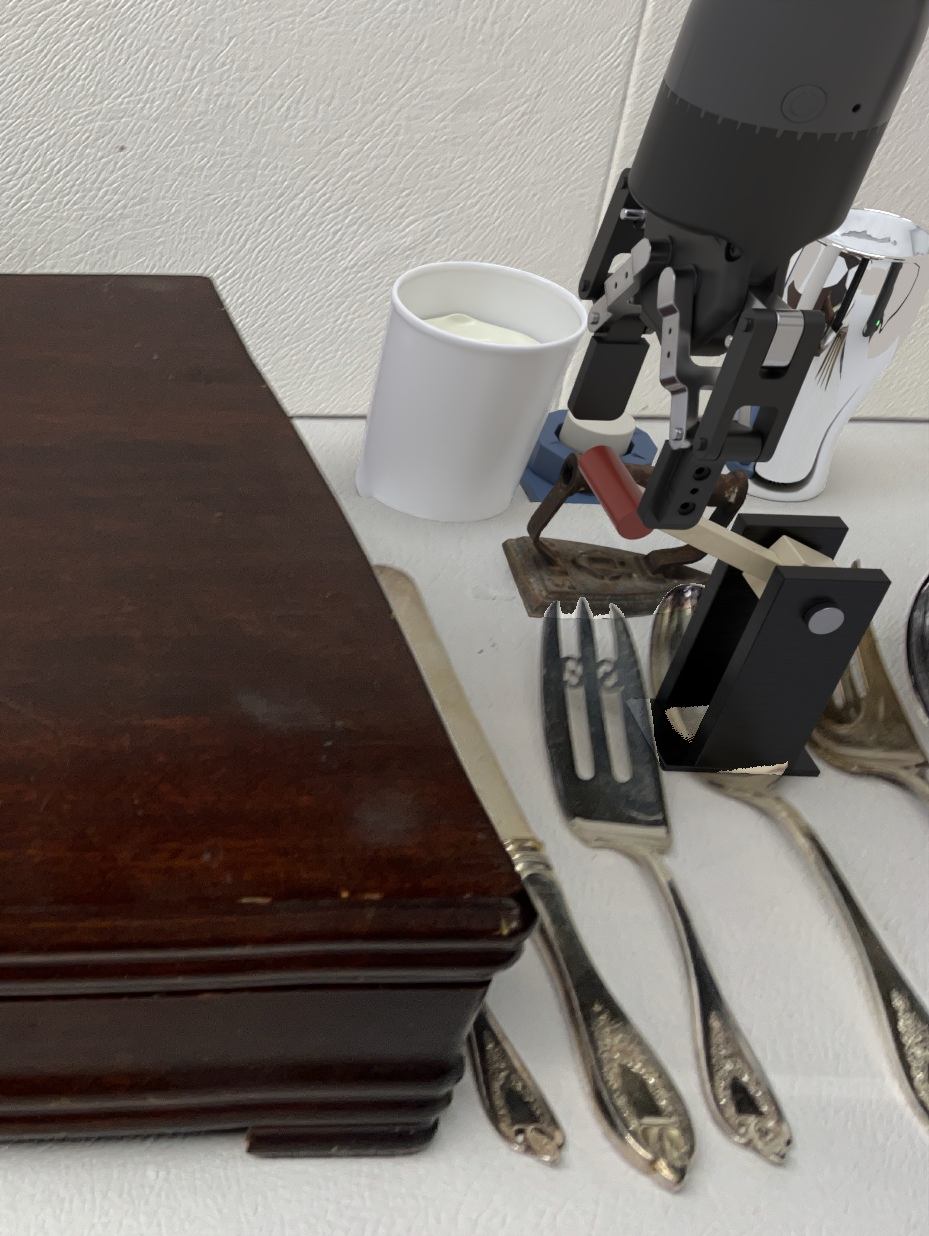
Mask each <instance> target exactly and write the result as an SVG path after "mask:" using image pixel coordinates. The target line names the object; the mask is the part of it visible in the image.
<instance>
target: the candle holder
mask: <svg viewBox="0 0 929 1236" xmlns="http://www.w3.org/2000/svg"><path fill="white" fill-rule="evenodd" d="M588 314H589V312H588V310H587V308H586V306H585V305H584V304H583V302H582V300H581V299H580V298H578V297H577V296H576V295H574V294H573V293H572V292H571V291H570V290H568V289H566V288H565V287H563V286H561V285H560V284H558V283H556V282H554V281H552V280H550V279H548V278H546V277H543V276H540V275H537V274H536V273H533V272H529V271H526V270H523V269H519V268H515V267H511V266H506V265H502V264H495V263H489V262H481V261H467V260H451V261H450V260H449V261H439V262H438V261H436V262H432V263H431V262H430V263H426V264H423V265H419V266H416V267H413V268H410V269H408V270H407V271H405V272H403V273H402V274H400V275H399V276H398V277H397V279H396V280H395V281H394V283H393V285H392V286H391V291H390V300H389V308H388V311H387V318H386V321H385V327H384V331H383V336H382V341H381V346H380V351H379V355H378V360H377V365H376V370H375V375H374V379H373V383H372V384H373V385H372V389H371V393H370V399H369V404H368V408H367V413H366V418H365V423H364V427H363V432H362V437H361V441H360V447H359V452H358V457H357V462H356V468H355V474H354V475H355V476H354V482H355V488H356V490H357V493H358V495H359V496H360V497H361V498H374V499H376V500H377V501H379V502H380V503H382V504H384V505H386V506H388V507H389V508H392V509H393V510H396V511H398V512H401V513H403V514H406V515H409V516H412V517H416V518H419V519H423V520H428V521H434V522H439V523H441V522H442V523H452V524H453V523H456V524H457V523H458V524H463V523H464V524H465V523H475V522H480V521H485V520H488V519H491V518H494V517H496V516H498V515H500V514H502V513H503V512H505V510H507V508H508V507H509V506H510V504H511V502H512V499H513V498H514V496H515V493H516V491H517V489H518V487H519V484H520V480H521V478H522V475H523V473H524V471H525V468H526V466H527V464H528V461H529V459H530V457H531V454H532V452H533V450H534V447H535V445H536V443H537V440H538V438H539V436H540V433H541V431H542V429H543V426H544V424H545V422H546V419H547V417H548V415H549V413H551V410H552V408H553V406H554V403H555V400H556V398H557V396H558V394H559V391H560V390H561V389H560V388H561V387H562V384H563V382H564V380H565V377H566V375H567V372H568V370H569V368H570V366H571V364H572V362H573V358H574V356H575V354H576V352H577V349H578V346H579V345H580V342H581V340H582V338H583V337H584V335H585V334H586V332H587V330H588V325H587V320H588Z"/></svg>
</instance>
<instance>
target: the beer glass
mask: <svg viewBox="0 0 929 1236" xmlns="http://www.w3.org/2000/svg"><path fill="white" fill-rule="evenodd" d="M928 291H929V226H928V224H927V225H926V224H925V223H923V222H921V221H920V220H917V219H915V218H912V217H909V216H906V215H903V214H900V213H897V212H893V211H890V210H886V209H880V208H875V207H868V206H862V205H861V206H860V205H852V206H851V208H850V211H849V213H848V215H847V217H846V219H845V221H844V222H843V224H842V225H841V226H840V227H839V228H838V229H837V230H836V231H835V232H833V233H832V234H830V235H828V236H826V237H825V238H822V239H819V240H817V241H814V242H812V243H810V244H808V245H807V246H805V247H803V248H802V249H800V250H799V251H797V252H796V253H795V254H794V255H793V256H792V257H791V260H790V264H789V268H788V272H787V276H786V282H785V289H784V295H783V299H782V300H783V301H784V302H785V303H787V304H788V305H789V306H790V307H791V308H792V309H797V310H798V309H799V310H820V311H822V312H823V313H824V315H825V319H826V326H825V331H824V334H823V337H822V339H821V341H820V344H819V346H818V349H817V351H816V353H815V356H814V358H813V361H812V363H811V366H810V368H809V370H808V373H807V375H806V378H805V380H804V382H803V385H802V387H801V390H800V392H799V395H798V397H797V399H796V402H795V404H794V407H793V409H792V412H791V414H790V416H789V419H788V421H787V424H786V426H785V428H784V431H783V433H782V436H781V438H780V441H779V443H778V445H777V448H776V450H775V453H774V455H773V457H772V458H771V460H770V461H768V462H736V461H727V462H726V464H725V466H724V468H723V470H722V472H721V474H727V473H729V472H731V471H734V470H743V471H744V472H746V473H747V475H748V483H749V487H748V492H747V495H749V496H753V497H755V498H759V499H764V500H769V501H774V502H782V503H783V502H785V503H794V502H795V503H796V502H797V503H798V502H805V501H808V500H812V499H814V498H816V497H818V496H820V494H821V493H822V492H823V491H824V489H825V487H826V485H827V482H828V478H829V474H830V469H831V465H832V460H833V456H834V453H835V451H836V450H835V449H836V447H837V445H838V441H839V439H840V437H841V435H842V433H843V431H844V429H845V427H846V426H847V424H848V422H849V421H850V419H851V418H852V416H853V415H854V413H856V411H857V409H858V408H859V406H860V405H861V403H862V402H863V401H864V400H865V398H866V397H867V395H868V394H869V393H870V391H872V389H873V387H874V386H875V385H876V383H877V382H878V380H879V379H880V378H881V376H882V375H883V374H884V372H885V371H886V370H887V368H888V367H889V365H890V364H891V362H892V361H893V359H894V358H895V356H897V355H896V354H897V353H898V351H899V350H900V349H901V347H902V345H903V344H904V342H905V340H906V338H907V336H908V334H909V332H910V331H911V329H912V327H913V325H914V323H915V321H916V318H917V316H918V314H919V312H920V310H921V307H922V305H923V302H924V301H925V298H926V295H927V293H928ZM759 409H760V406H751V421H750V427H751V428H752V426H753V424H754V421H755V419H756V416H757V414H758V411H759Z"/></svg>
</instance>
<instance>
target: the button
mask: <svg viewBox="0 0 929 1236" xmlns="http://www.w3.org/2000/svg"><path fill="white" fill-rule="evenodd" d="M567 410H568V413H567V415H566V418H565V421H564V424H563V426H562V429H561V432H560V435H559V440H560V442H561V443H562V444H563V445H565V446H567V447H568V448H570V449H572V450H573V451H575V452H577V453H582V454H583V453H585V452H586V451H587V450H588V449H590V448H592V447H595V446H600V445H605V446H609V447H611V448H613V449H614V450H615V452H616V453H617V455H618V456H619V457H622V456H623V455H624V454H625V453H626V451H627V449H628V446H629V443H630V441H631V438H632V436H633V433H634V431H635V428H636V427H637V422H636V420H635V418H634V417H633V416H632V415H631V414H630V413H629V412H627V411H626V410H625V411H624V413H623V415H622V416H621V417H619V418H618V419H616V420H613V421H595V420H578V419H576V418H574V416H573V415H572V413H571V412H570V410H569V409H567Z"/></svg>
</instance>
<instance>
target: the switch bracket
mask: <svg viewBox="0 0 929 1236" xmlns="http://www.w3.org/2000/svg"><path fill="white" fill-rule="evenodd" d="M729 530H730V531H732V532H734V533H736V534H738V535H740V536H742V537H744V538H746V539H748V540H750V541H752V542H754V543H756V544H758V545H760V546H762V547H764V548H766V549H769V548H770V547H771V546H772V545H773V544H774V543H775V542H776V541H777V540H778V539H779V538H781V537H782V536H783V535H785V536H787V537H789V538H791V539H793V540H795V541H797V542H799V543H801V544H803V545H805V546H807V547H809V548H811V549H813V550H815V551H817V552H819V553H821V554H823V555H825V556H827V557H829V558H831V559H832V560H833V561H834V560H835V559H836V557H837V554H838V552H839V550H840V548H841V546H842V544H843V542H844V540H845V538H846V536H847V534H848V532H849V530H850V528H849V527H848V525H847V524H846V522H845V521H844V520H843V519H842V517H840V516H839V515H812V514H810V515H809V514H805V515H804V514H783V513H782V514H781V513H748V512H737V514H736V516H735V519H734V521H733V523H732V526H731V528H730V529H729ZM743 572H744V571H742V570H740V569H738V568H736V567H734V566H732V565H730V564H728V563H726V562H724V561H722V560H720V559H718V558H716V562H715V563H714V565H713V568H712V570H711V572H710V574H711V575H710V577H709V579H708V581H707V584H706V586H705V588H704V590H703V593H702V595H701V597H700V599H699V601H698V604H697V606H695V608H694V610H693V612H692V615H691V617H690V619H689V622H688V624H687V625H686V628H685V631H684V633H683V635H682V637H681V640H680V642H679V644H678V646H677V648H676V650H675V652H674V655H673V658H672V659H671V662H670V664H669V665H668V669H667V671H666V673H665V675H664V677H663V680H662V682H661V684H660V686H659V689H658V691H657V693H656V695H655V698H654V697H651V698H650V697H649V698H650V703H651V710H652V716H653V724H654V737H655V741H656V746H657V753H658V756H659V762H660V765H659V767H660V769H661V770H662V771H663V772H674V773H675V772H677V773H702V774H704V773H705V774H718V773H717V772H719V771H721V770H722V771H727V770H729V771H732V770H734V769H736V770H737V769H738V768H742V769H743V768H745V769H746V768H750V767H752V768H753V767H757V766H761V767H762V766H764V765H765V766H771V765H772V766H774V765H776V764H784V763H786V762H787V761H788V767H787V768H786V769H785V771H784V773H783V774H782V776H781V777H804V778H805V777H807V778H818V777H819V776H820V775H821V770H820V769H819V767H818V765H817V764H816V762H815V761H814V760H813V759H814V758H813V757H812V756H811V755H810V754H809V752H808V750H807V749H806V746H807V744H808V742H809V741H810V738H811V736H812V734H813V732H814V730H815V728H816V727H817V725H818V723H819V721H820V719H821V717H822V716H823V713H824V712H825V710H826V707H827V706H828V704H829V702H830V700H831V698H832V696H833V694H834V693H835V691H836V689H837V687H838V685H839V683H840V682H841V679H842V678H843V675H844V673H845V672H846V670H847V668H848V666H849V664H850V663H851V661H852V658H853V656H854V655H855V653H856V651H857V649H858V647H859V646H860V644H861V641H862V640H863V638H864V636H865V634H866V632H867V631H868V628H869V626H870V624H871V623H872V621H873V619H874V617H875V615H876V613H877V612H878V610H879V607H880V606H881V604H882V603H883V600H884V598H885V596H886V595H887V592H888V591H889V589H890V587H891V585H892V583H893V582H892V580H891V579H890V578H889V576H888V575H887V574H886V572H885V571H884V570H883V569H882V568H872V567H871V568H869V567H844V566H843V567H842V566H841V567H839V566H837V567H813V566H784V565H776V566H775V568H774V570H773V572H772V574H771V576H770V578H769V580H768V582H767V584H766V587H765V589H764V591H763V593H762V595H761V597H760V599H759V598H758V597H757V595H756V594H755V592H754V591H753V589H752V588H751V586H750V585H749V583H748V582H747V581H746V579H745V578H744V576H743V575H742V574H743ZM702 705H703V706H707V705H709V707H708V709H707V711H706V713H705V715H704V717H703V719H702V721H701V723H700V725H699V728H698V730H697V732H696V734H695V736H693V737H694V738H693V737H691V738H693V739H691V738H689V739H691V740H689V739H687V738H688V737H686V738H685V739H687V740H685V739H683V738H684V737H681V736H683V735H680V734H678V733H679V732H676V731H677V730H676V731H675V729H672V728H674V727H672V726H673V725H671V723H670V721H668V720H669V719H667V718H668V717H667V715H666V714H665V713H666V712H665V710H666V711H667V709H670V708H671V707H672V708H673V707H681V708H682V707H685V708H686V707H691V706H692V707H694V706H697V707H698V706H702ZM681 734H682V733H681ZM688 735H689V734H688ZM692 735H693V734H692ZM688 740H689V741H688ZM690 741H692V742H690ZM689 742H690V743H689Z"/></svg>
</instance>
